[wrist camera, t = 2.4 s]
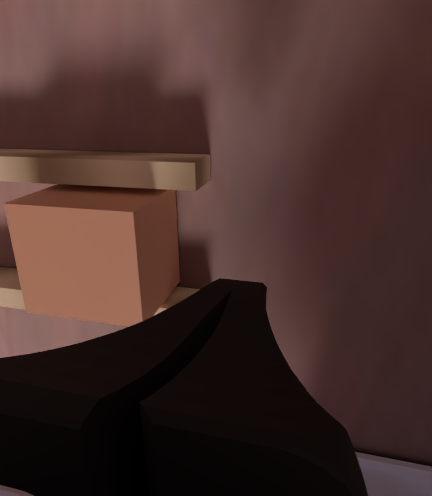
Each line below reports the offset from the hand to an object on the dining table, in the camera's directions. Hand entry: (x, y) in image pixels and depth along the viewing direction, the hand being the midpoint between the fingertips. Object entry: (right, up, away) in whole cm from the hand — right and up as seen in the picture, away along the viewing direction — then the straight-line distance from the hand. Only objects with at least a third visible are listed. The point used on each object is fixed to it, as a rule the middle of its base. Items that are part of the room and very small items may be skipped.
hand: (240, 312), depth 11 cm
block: (-5, +3, +7) cm, 9 cm away
